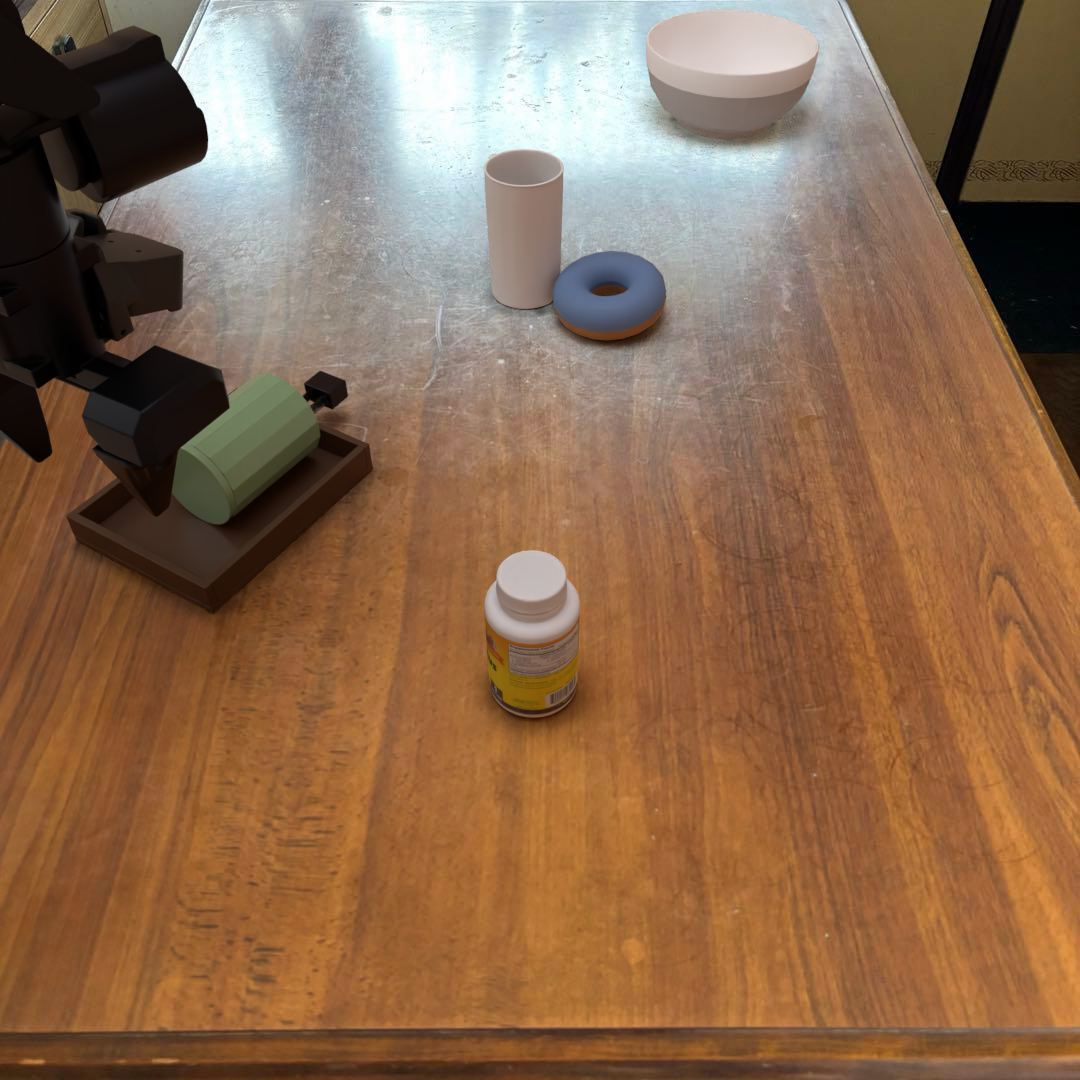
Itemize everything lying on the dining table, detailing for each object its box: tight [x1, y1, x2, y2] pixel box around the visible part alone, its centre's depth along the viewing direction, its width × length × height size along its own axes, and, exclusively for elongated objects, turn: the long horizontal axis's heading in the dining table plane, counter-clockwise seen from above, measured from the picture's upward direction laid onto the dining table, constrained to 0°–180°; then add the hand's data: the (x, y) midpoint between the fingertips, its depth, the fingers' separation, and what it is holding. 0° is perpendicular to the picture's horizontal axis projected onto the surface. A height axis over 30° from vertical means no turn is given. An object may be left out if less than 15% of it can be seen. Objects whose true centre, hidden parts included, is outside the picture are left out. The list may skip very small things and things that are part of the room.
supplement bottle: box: [483, 549, 581, 719], centre depth 65 cm, size 6×6×10 cm
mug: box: [483, 148, 565, 310], centre depth 98 cm, size 10×7×12 cm, turn 30°
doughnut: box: [552, 250, 667, 341], centre depth 96 cm, size 10×10×5 cm
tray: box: [65, 387, 374, 615], centre depth 80 cm, size 17×13×2 cm
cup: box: [172, 372, 320, 525], centre depth 79 cm, size 7×7×10 cm
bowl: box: [645, 9, 820, 140], centre depth 124 cm, size 19×19×9 cm
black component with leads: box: [301, 370, 349, 415], centre depth 83 cm, size 4×3×14 cm
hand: (101, 483), depth 63 cm, fingers open, 9 cm apart
